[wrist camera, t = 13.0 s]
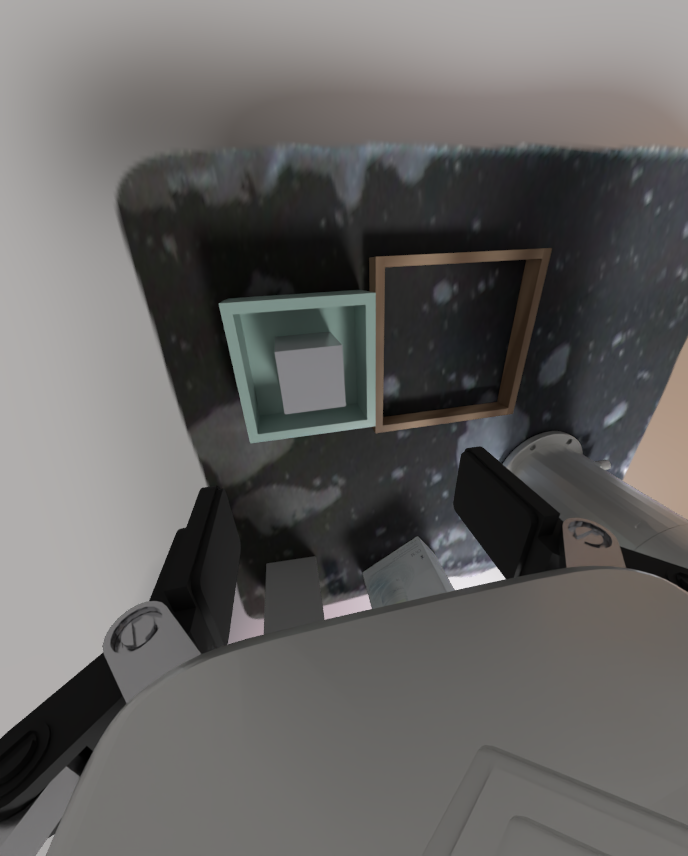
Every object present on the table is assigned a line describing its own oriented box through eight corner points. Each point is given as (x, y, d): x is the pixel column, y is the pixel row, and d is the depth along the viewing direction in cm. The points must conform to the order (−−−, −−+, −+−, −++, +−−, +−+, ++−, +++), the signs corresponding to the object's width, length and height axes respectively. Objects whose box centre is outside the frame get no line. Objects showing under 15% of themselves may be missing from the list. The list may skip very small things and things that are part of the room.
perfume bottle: (316, 587, 45) (338, 754, 29) (270, 595, 44) (267, 773, 28) (315, 556, 42) (338, 724, 26) (266, 563, 41) (259, 744, 25)
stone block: (329, 331, 28) (342, 345, 22) (333, 383, 30) (345, 406, 25) (274, 336, 27) (274, 352, 22) (283, 389, 29) (284, 414, 24)
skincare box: (416, 533, 44) (452, 601, 35) (435, 554, 47) (473, 621, 38) (359, 571, 46) (380, 646, 36) (382, 589, 49) (406, 662, 39)
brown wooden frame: (535, 249, 29) (552, 248, 27) (501, 407, 37) (512, 413, 35) (369, 257, 26) (375, 256, 25) (370, 425, 34) (375, 433, 32)
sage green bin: (359, 289, 27) (375, 292, 23) (362, 405, 33) (375, 426, 28) (228, 298, 26) (218, 303, 21) (254, 419, 31) (250, 443, 27)
